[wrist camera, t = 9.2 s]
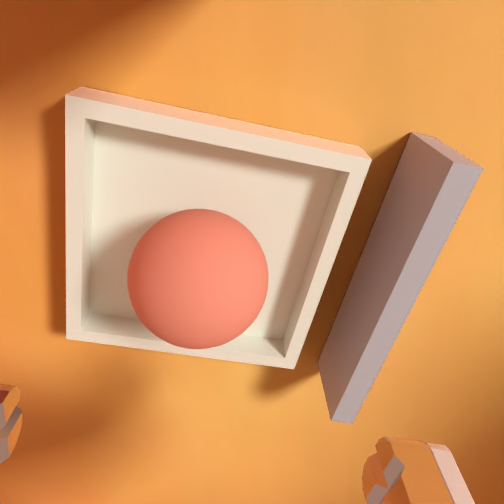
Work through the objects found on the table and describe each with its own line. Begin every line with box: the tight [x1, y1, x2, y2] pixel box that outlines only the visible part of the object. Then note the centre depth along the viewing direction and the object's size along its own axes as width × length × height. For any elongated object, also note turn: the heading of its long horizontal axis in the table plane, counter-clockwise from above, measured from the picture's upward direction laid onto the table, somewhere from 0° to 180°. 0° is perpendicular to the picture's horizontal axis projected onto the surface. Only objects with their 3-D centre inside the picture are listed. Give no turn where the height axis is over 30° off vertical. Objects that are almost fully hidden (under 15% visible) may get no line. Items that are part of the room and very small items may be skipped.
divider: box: [318, 132, 484, 423], centre depth 17 cm, size 1×12×4 cm, turn 169°
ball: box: [127, 209, 269, 349], centre depth 15 cm, size 5×5×5 cm
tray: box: [65, 86, 372, 369], centre depth 17 cm, size 10×10×2 cm
